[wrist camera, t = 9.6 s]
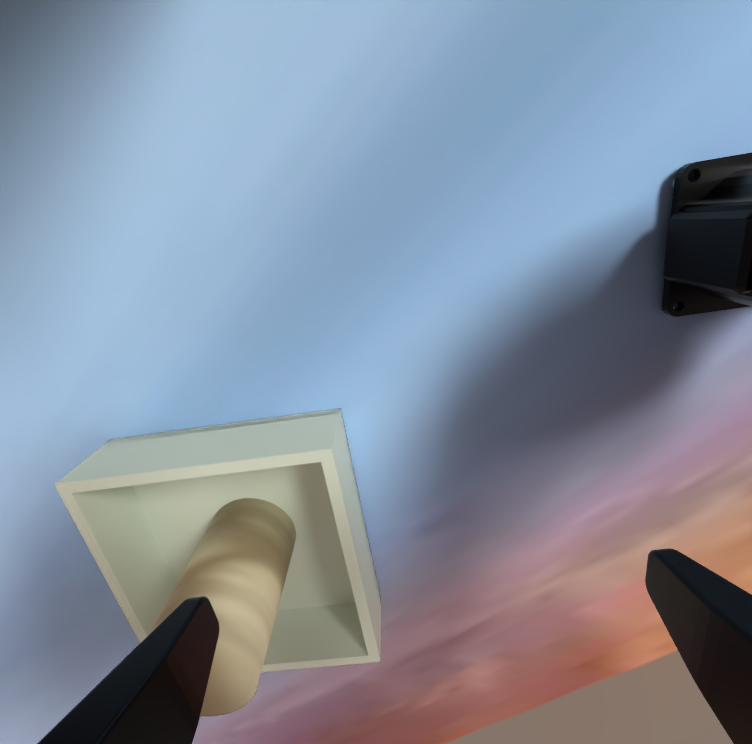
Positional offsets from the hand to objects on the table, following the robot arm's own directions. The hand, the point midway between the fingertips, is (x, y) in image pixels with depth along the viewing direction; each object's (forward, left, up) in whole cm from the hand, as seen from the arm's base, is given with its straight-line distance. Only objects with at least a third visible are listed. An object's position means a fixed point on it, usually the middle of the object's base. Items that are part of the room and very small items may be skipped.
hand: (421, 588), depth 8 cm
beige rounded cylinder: (+10, +9, -12) cm, 18 cm away
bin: (+10, +9, -13) cm, 19 cm away
